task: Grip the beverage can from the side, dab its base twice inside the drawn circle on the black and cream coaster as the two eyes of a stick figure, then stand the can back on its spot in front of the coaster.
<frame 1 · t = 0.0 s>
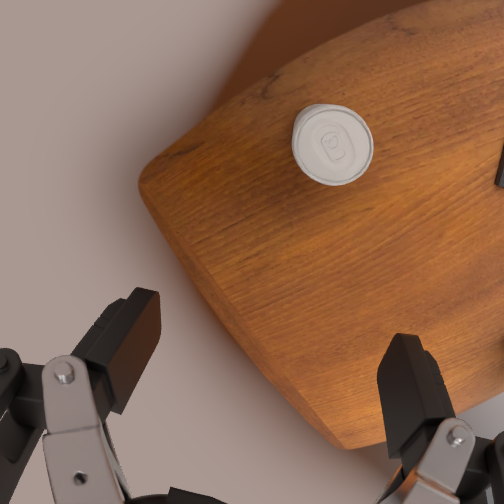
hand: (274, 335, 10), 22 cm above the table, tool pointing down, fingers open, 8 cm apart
beverage can: (319, 129, 28), on the table
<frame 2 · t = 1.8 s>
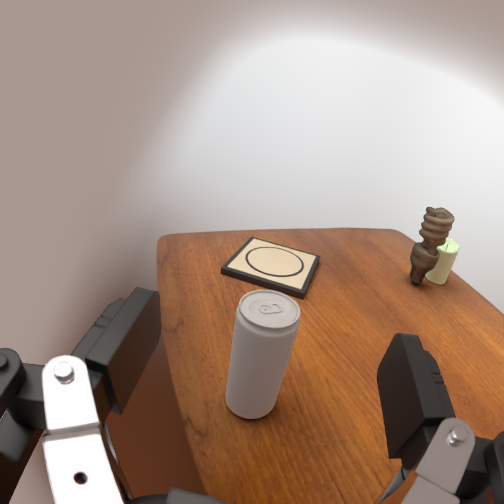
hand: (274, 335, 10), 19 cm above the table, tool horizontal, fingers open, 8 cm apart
candle: (434, 279, 57), on the table
beverage can: (249, 403, 29), on the table
black and cream coaster: (273, 266, 53), on the table
light bulb: (414, 284, 54), on the table
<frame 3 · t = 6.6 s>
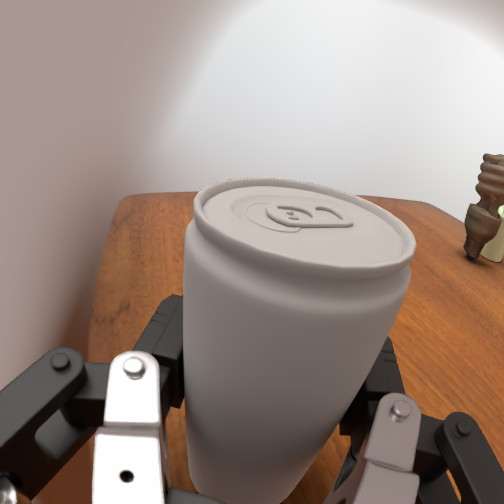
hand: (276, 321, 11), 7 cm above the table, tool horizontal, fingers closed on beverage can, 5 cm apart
candle: (487, 255, 40), on the table
beverage can: (242, 473, 12), on the table, touching gripper
light bulb: (469, 260, 37), on the table
when the fingers open (7 cm above the table, at t = 27.0 s): beverage can stays where it is, on the table.
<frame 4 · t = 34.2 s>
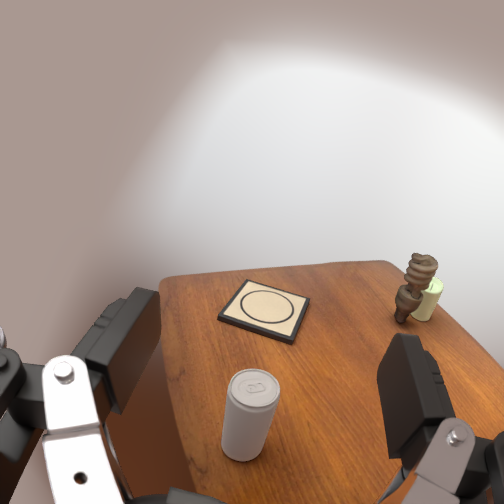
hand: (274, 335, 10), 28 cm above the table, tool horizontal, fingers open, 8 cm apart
candle: (419, 315, 61), on the table
beverage can: (241, 446, 33), on the table
black and cream coaster: (266, 311, 57), on the table
light bulb: (398, 323, 58), on the table
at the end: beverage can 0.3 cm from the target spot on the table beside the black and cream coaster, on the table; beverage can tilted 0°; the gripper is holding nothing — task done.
